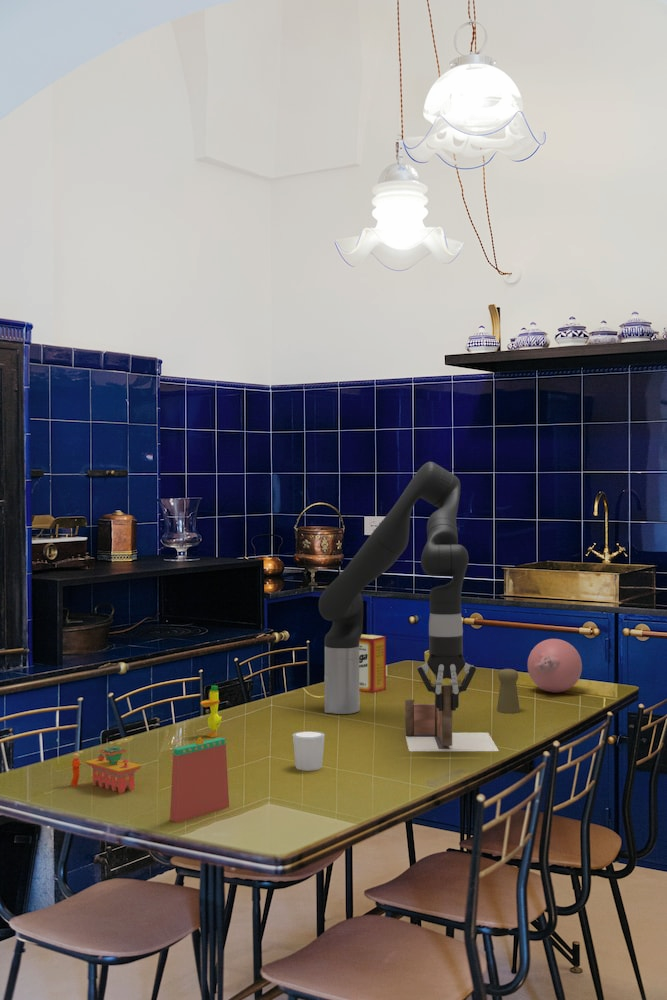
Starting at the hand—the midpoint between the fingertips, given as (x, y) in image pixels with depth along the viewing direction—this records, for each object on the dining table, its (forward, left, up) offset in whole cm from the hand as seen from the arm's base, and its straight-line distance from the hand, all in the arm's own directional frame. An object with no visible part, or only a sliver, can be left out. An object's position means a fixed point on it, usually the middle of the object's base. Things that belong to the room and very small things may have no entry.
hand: (446, 709), depth 241 cm
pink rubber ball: (+36, +67, -9) cm, 77 cm away
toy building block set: (-62, -36, -10) cm, 72 cm away
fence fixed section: (-4, +13, -9) cm, 16 cm away
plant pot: (+6, +82, -9) cm, 83 cm away
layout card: (+1, +7, -9) cm, 11 cm away
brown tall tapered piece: (+20, +43, -9) cm, 48 cm away
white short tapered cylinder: (-31, -14, -9) cm, 35 cm away
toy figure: (-55, +14, -9) cm, 57 cm away
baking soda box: (-17, +73, -9) cm, 75 cm away
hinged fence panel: (0, +5, -8) cm, 10 cm away
